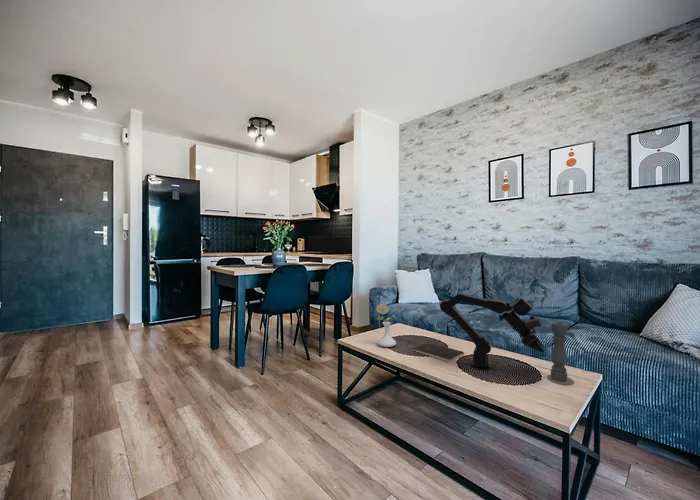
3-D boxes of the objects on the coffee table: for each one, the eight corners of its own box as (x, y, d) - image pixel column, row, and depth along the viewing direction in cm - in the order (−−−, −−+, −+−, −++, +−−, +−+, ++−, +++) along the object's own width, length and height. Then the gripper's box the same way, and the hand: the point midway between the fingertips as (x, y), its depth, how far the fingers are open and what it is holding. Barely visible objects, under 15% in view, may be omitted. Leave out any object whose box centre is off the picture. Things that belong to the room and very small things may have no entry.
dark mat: (563, 386, 133) (563, 385, 133) (541, 377, 142) (541, 376, 142) (579, 383, 136) (579, 382, 136) (557, 374, 146) (557, 373, 146)
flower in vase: (399, 344, 190) (399, 303, 189) (391, 349, 180) (391, 307, 179) (380, 340, 197) (380, 301, 196) (371, 346, 187) (371, 304, 186)
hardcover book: (449, 363, 161) (449, 359, 161) (412, 352, 178) (412, 348, 178) (464, 355, 172) (464, 351, 172) (428, 345, 189) (428, 342, 188)
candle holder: (564, 383, 135) (565, 326, 135) (548, 378, 140) (549, 323, 140) (569, 379, 139) (570, 324, 138) (553, 374, 144) (554, 321, 143)
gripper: (530, 315, 136) (560, 344, 131) (528, 307, 153) (554, 333, 148) (510, 331, 140) (538, 359, 135) (510, 321, 157) (535, 346, 152)
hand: (542, 348), depth 142 cm, fingers open, 9 cm apart
